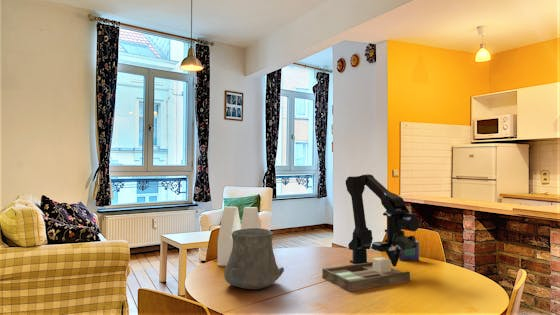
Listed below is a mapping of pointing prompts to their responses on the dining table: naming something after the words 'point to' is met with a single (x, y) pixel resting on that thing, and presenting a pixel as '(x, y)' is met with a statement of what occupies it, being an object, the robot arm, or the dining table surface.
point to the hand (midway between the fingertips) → (394, 266)
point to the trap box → (363, 276)
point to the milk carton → (234, 229)
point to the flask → (410, 254)
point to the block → (381, 265)
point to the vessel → (252, 259)
